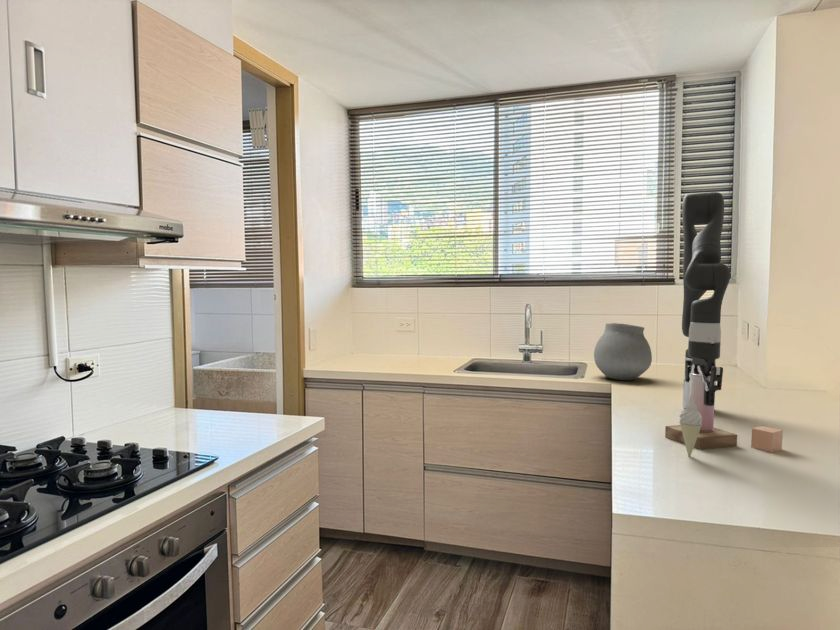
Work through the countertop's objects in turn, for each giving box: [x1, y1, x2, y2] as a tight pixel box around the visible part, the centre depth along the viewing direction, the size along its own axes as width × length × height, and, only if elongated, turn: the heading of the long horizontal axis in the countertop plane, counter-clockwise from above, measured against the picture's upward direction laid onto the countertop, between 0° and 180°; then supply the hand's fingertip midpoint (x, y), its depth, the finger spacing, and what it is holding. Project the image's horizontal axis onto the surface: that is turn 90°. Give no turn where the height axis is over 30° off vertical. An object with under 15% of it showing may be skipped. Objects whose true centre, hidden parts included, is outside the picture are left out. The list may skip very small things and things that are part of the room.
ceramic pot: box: [593, 322, 653, 381], centre depth 249 cm, size 24×24×25 cm
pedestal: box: [664, 424, 738, 450], centre depth 147 cm, size 12×12×3 cm
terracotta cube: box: [750, 425, 784, 453], centre depth 142 cm, size 5×5×5 cm
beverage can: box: [689, 373, 716, 433], centre depth 147 cm, size 6×6×15 cm
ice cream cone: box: [678, 395, 703, 458], centre depth 134 cm, size 5×5×15 cm
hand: (701, 402), depth 147 cm, fingers open, 6 cm apart
